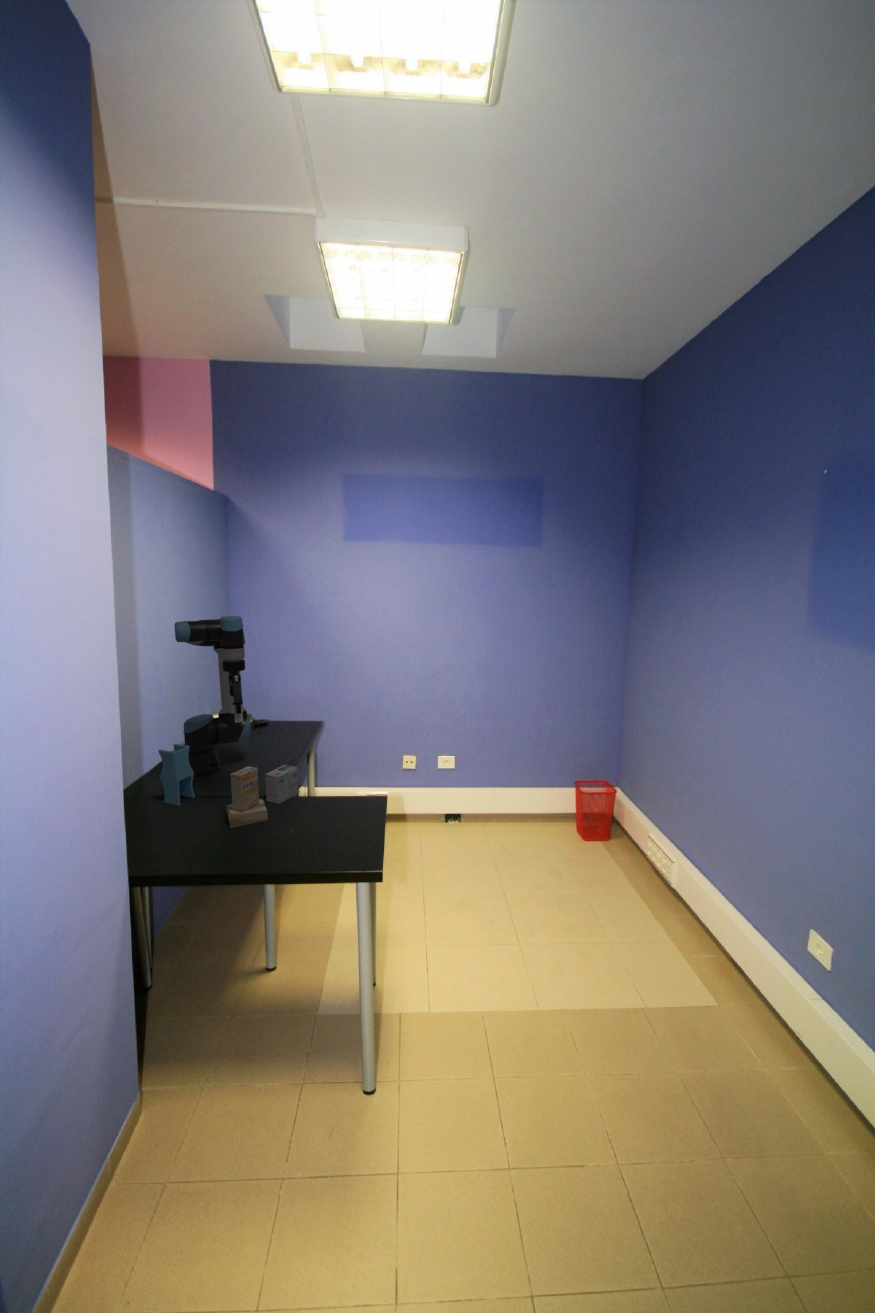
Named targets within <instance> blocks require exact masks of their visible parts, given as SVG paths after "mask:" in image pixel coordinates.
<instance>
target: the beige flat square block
mask: <svg viewBox="0 0 875 1313" xmlns="http://www.w3.org/2000/svg"><path fill="white" fill-rule="evenodd" d="M226 813H227V814H226V815H227V819H228V823H229V828H237V827H241V826H246V825H252V824H257V823H261V822H267V821H268V820H269V819H268V818H269V816H268V809H267V806H266V804H265V802H264V799H263V798H259V803H258V804H256V805H254V806H252V807H251V808H249V809H247V810H246V811H244V812H239V811H235V810H233V809H232V803H231V804H228V805H227V806H226Z"/></svg>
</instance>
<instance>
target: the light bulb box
mask: <svg viewBox="0 0 875 1313" xmlns="http://www.w3.org/2000/svg"><path fill="white" fill-rule="evenodd" d="M264 780H265V794H266V796H265V797H266V801H267V802H269V803H270V802H271V803H274V804H277V805H280V804H282V803H283V802H285V801H288V800H289V799H291V798H292V797H294V796H296V795H298V794H299V782H298V780H299V778H298V767H297V766H292V765H288V764H283V765H281V766H279V767H277V768H275V769H273V770H270V771H268V772H267V773H266V772H265V773H264Z"/></svg>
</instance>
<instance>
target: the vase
mask: <svg viewBox="0 0 875 1313" xmlns="http://www.w3.org/2000/svg"><path fill="white" fill-rule="evenodd" d="M189 748H190V746H187V745H185V744H178V743H173V751H171V750H164V749H158V750H157V751H158V753H159V755H160V757H161V762H162V769H161V773H160V777H159V780H160V781H161V782H160V783H161V784H162V787H163V791H164V792H163V793H164V798H163V799H164V800H163V803H165V804H170V805H175V806H181V798H180V797H186V798H187V797H188V798H193V799H194V798H196V795H195V792H194V789H193V782H194V781H193V780H194V777H195V776H194V772H193V770H192V768H191V766H190V763H189Z"/></svg>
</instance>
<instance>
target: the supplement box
mask: <svg viewBox="0 0 875 1313" xmlns="http://www.w3.org/2000/svg"><path fill="white" fill-rule="evenodd" d="M230 786H231V787H230V788H231V790H230V791H231V802H232V803H231V804H232V809H233V810H235V811H239V812H244V811H246V810H247V809H249V808H251V807H252V806H254V805H256V804H258V803H259V799H260V796H259V795H260V793H259V792H260V791H259V790H260V789H259V768H258V767H253V766H249V765H247V766H245V767H243V768H241V769H239V770H237V771H235V772H231V773H230Z"/></svg>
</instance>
